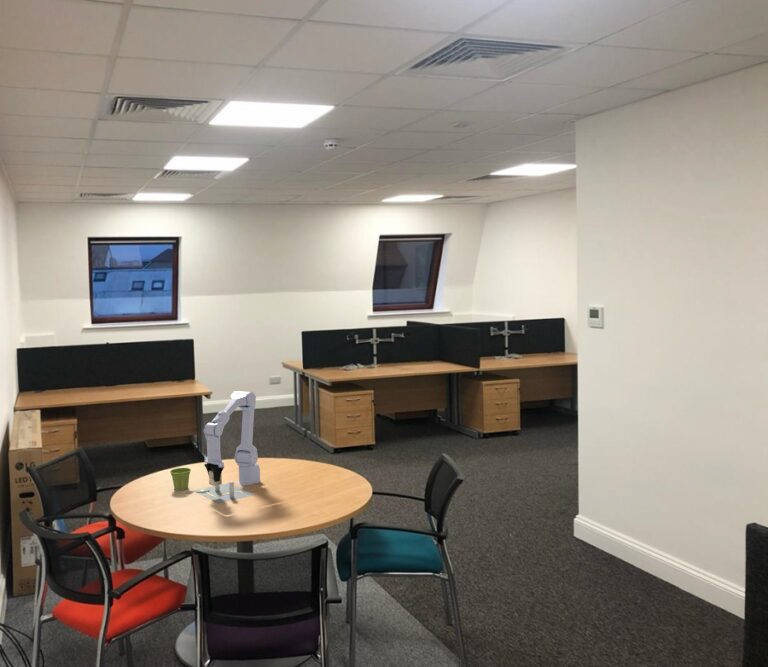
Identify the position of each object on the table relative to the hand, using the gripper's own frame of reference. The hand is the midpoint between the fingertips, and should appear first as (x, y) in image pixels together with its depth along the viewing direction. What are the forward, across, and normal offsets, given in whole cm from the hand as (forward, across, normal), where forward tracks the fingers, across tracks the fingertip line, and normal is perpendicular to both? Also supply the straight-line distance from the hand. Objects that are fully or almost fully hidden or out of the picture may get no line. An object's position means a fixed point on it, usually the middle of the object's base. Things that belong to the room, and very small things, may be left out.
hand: (214, 480), depth 321 cm
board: (+8, -3, +6) cm, 10 cm away
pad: (+8, -12, 0) cm, 14 cm away
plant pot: (+8, -24, -5) cm, 25 cm away
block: (+2, 0, 0) cm, 2 cm away
